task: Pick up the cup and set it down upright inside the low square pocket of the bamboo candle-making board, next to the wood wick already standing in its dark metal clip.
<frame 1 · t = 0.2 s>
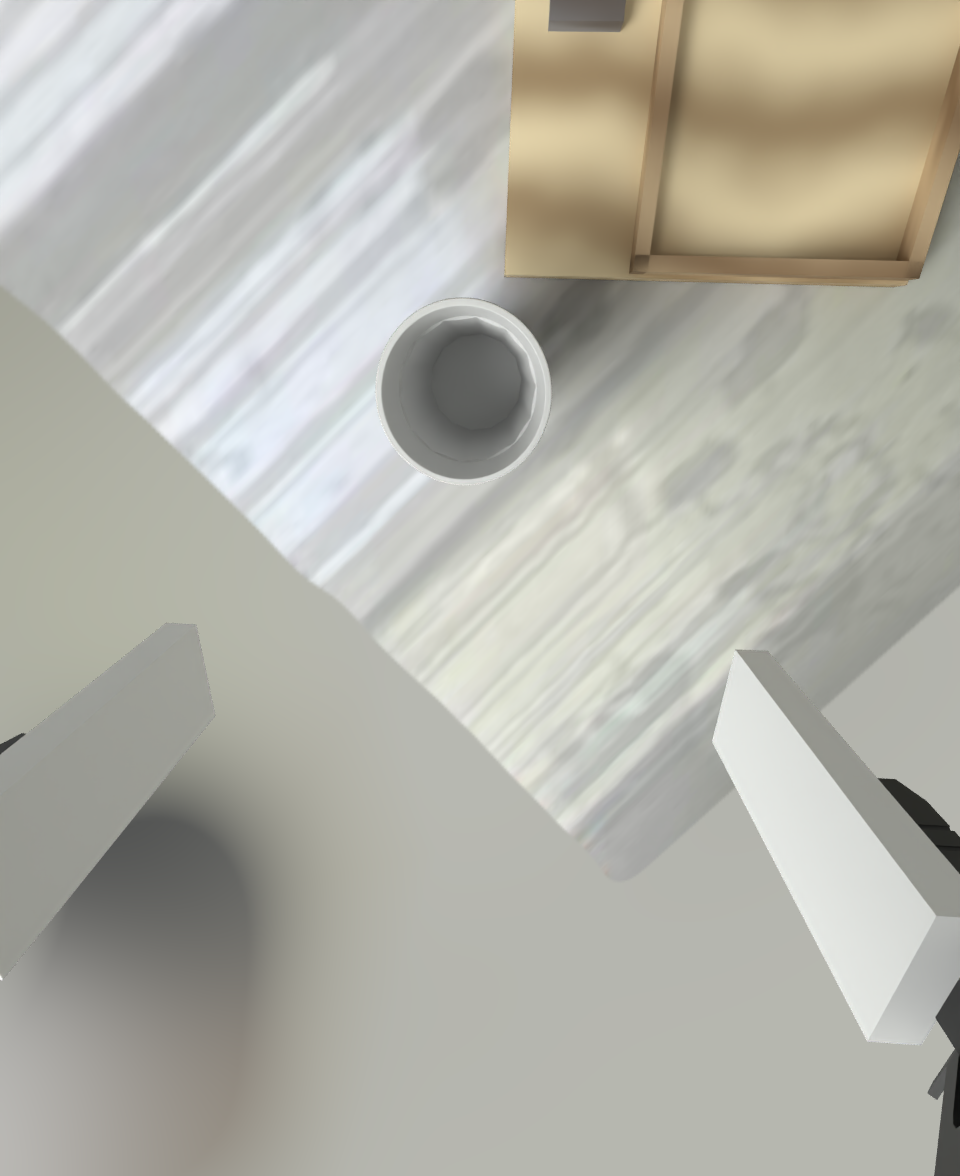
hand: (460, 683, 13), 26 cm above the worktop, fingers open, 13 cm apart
cup: (477, 381, 35), on the worktop
board: (725, 112, 29), on the worktop
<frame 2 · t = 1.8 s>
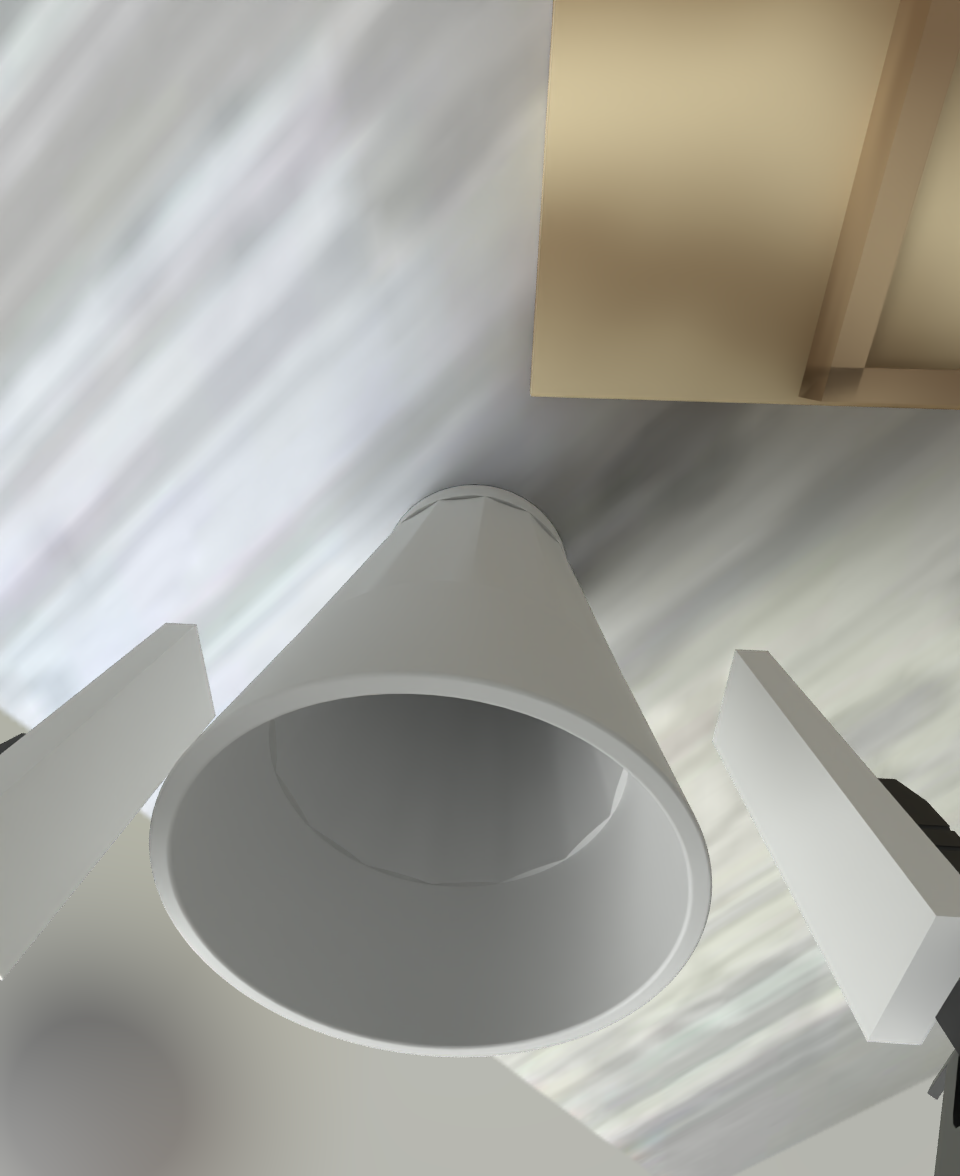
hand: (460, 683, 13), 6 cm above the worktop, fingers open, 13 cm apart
cup: (475, 572, 19), on the worktop
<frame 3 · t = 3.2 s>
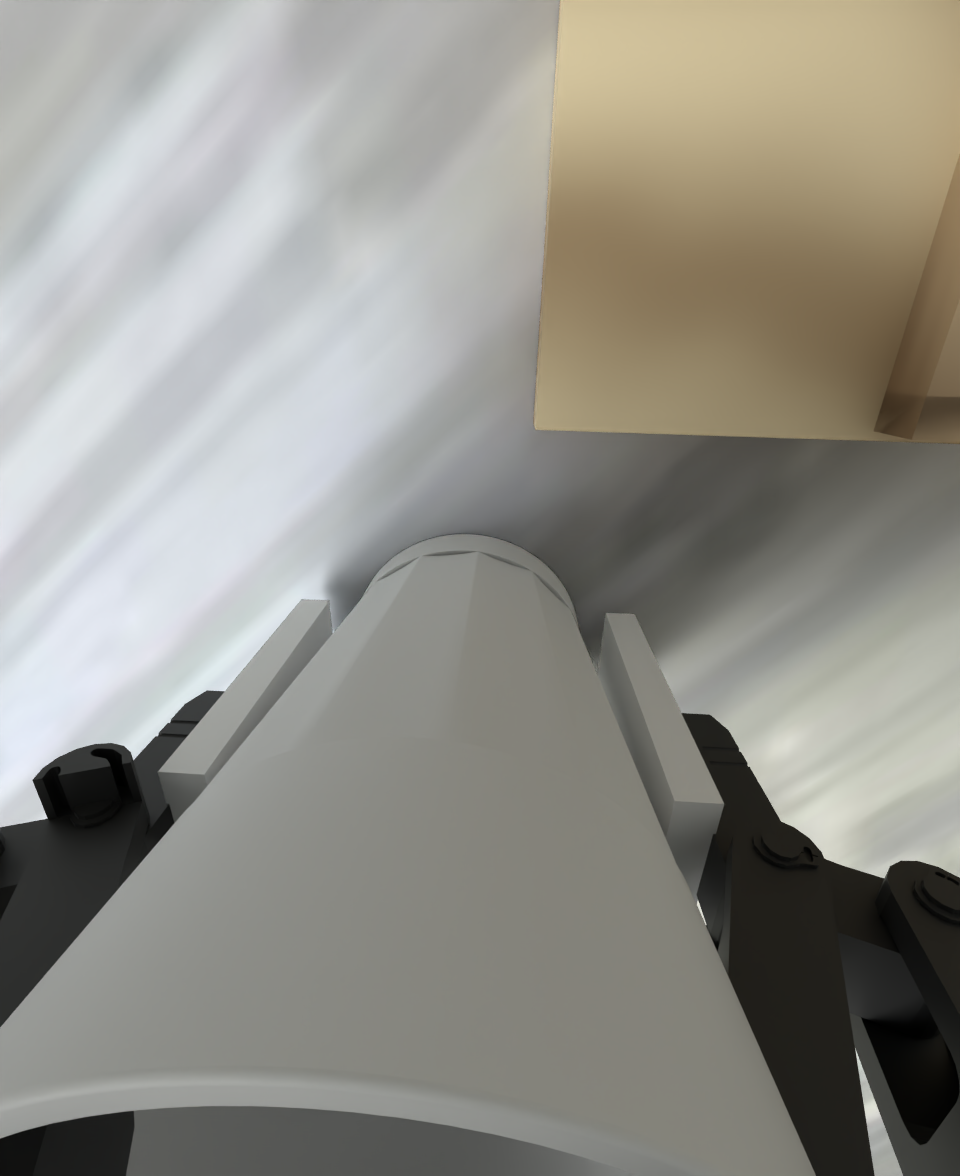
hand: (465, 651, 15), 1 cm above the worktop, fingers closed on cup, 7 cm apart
cup: (467, 635, 16), on the worktop, touching gripper
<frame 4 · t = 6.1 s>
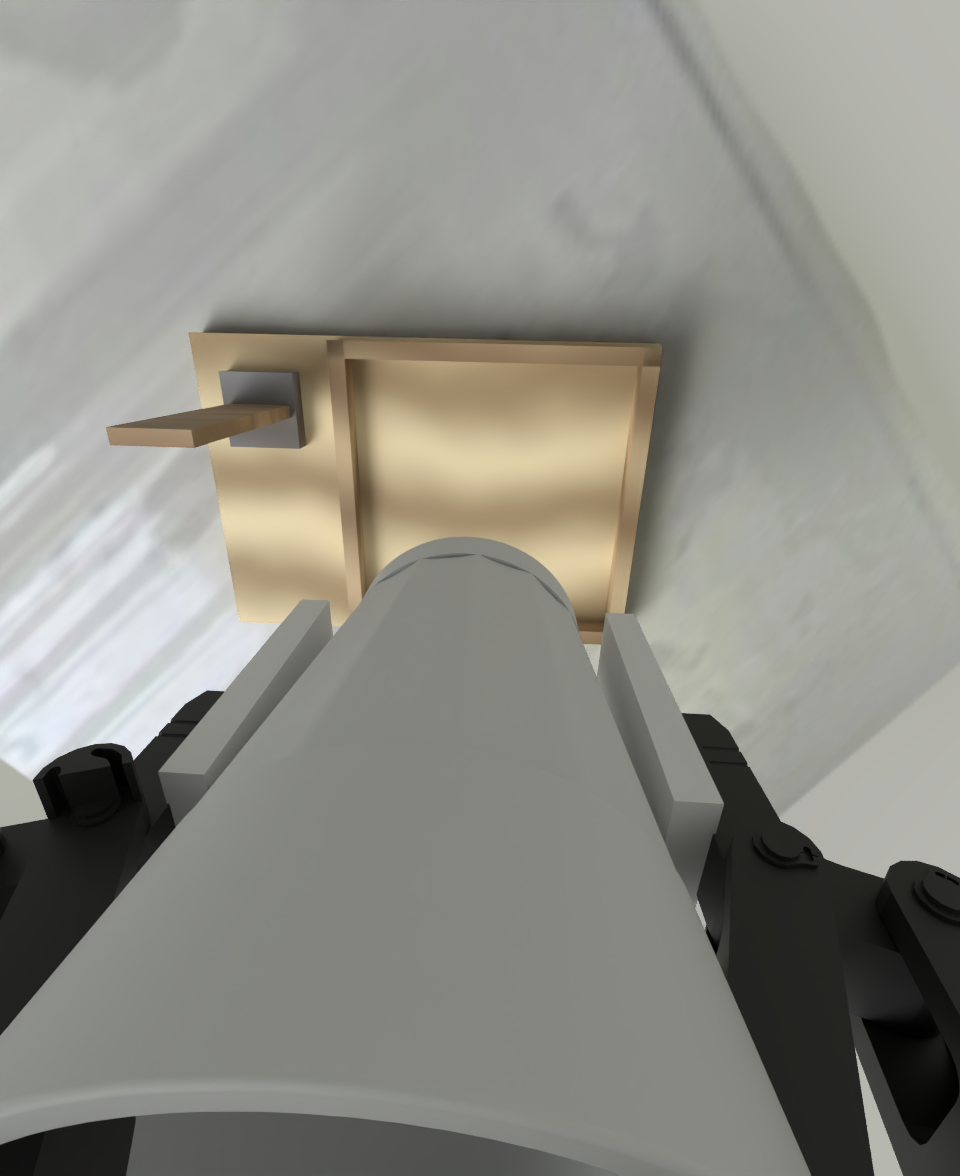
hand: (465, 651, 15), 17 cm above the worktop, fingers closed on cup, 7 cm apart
cup: (467, 638, 16), point 16 cm above the worktop, touching gripper
board: (427, 494, 30), on the worktop
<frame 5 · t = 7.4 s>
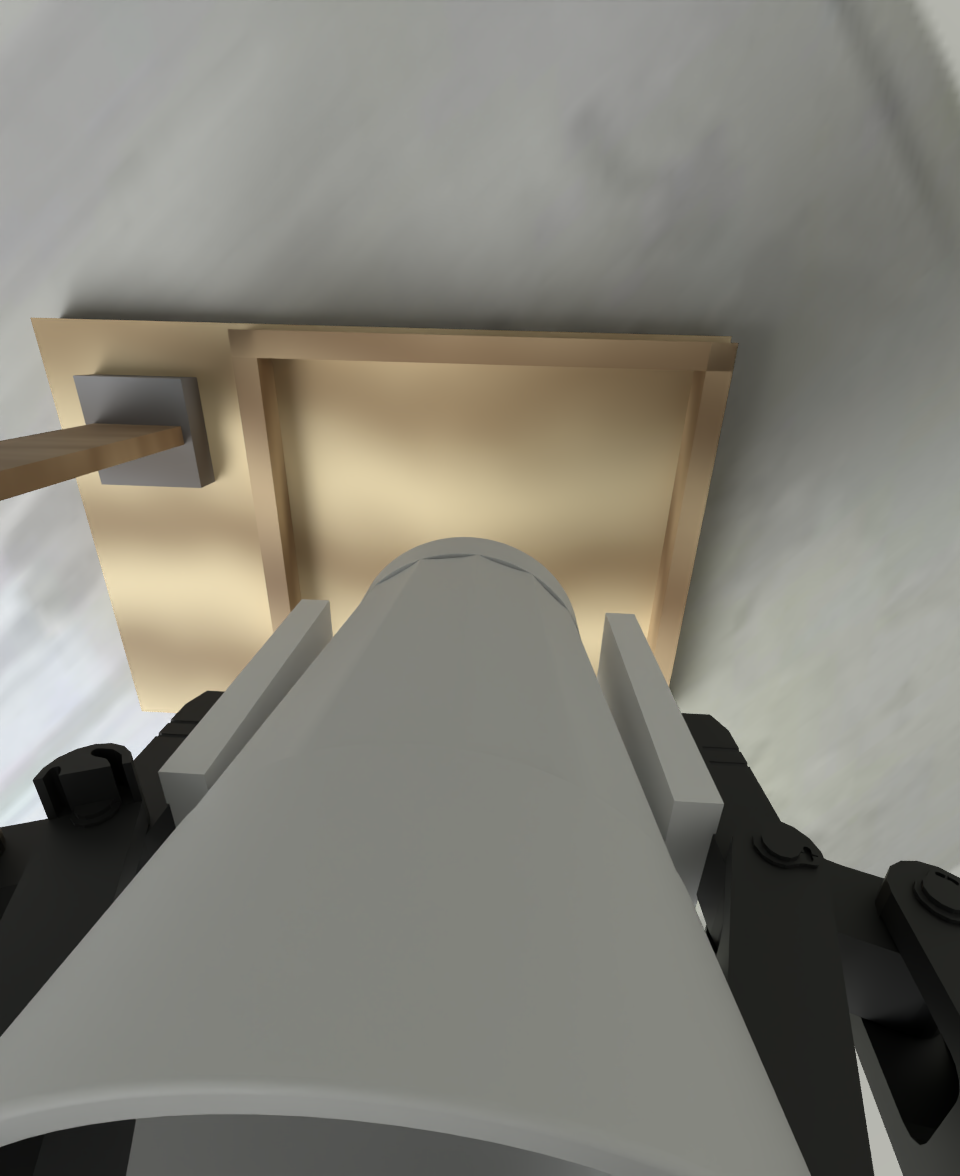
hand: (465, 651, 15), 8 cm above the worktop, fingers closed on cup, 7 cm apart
cup: (467, 638, 16), point 7 cm above the worktop, touching gripper
board: (391, 546, 22), on the worktop
when the fingers open (4 cm above the worktop, at t = 8.8 s): cup drops 2 cm, resting on board.
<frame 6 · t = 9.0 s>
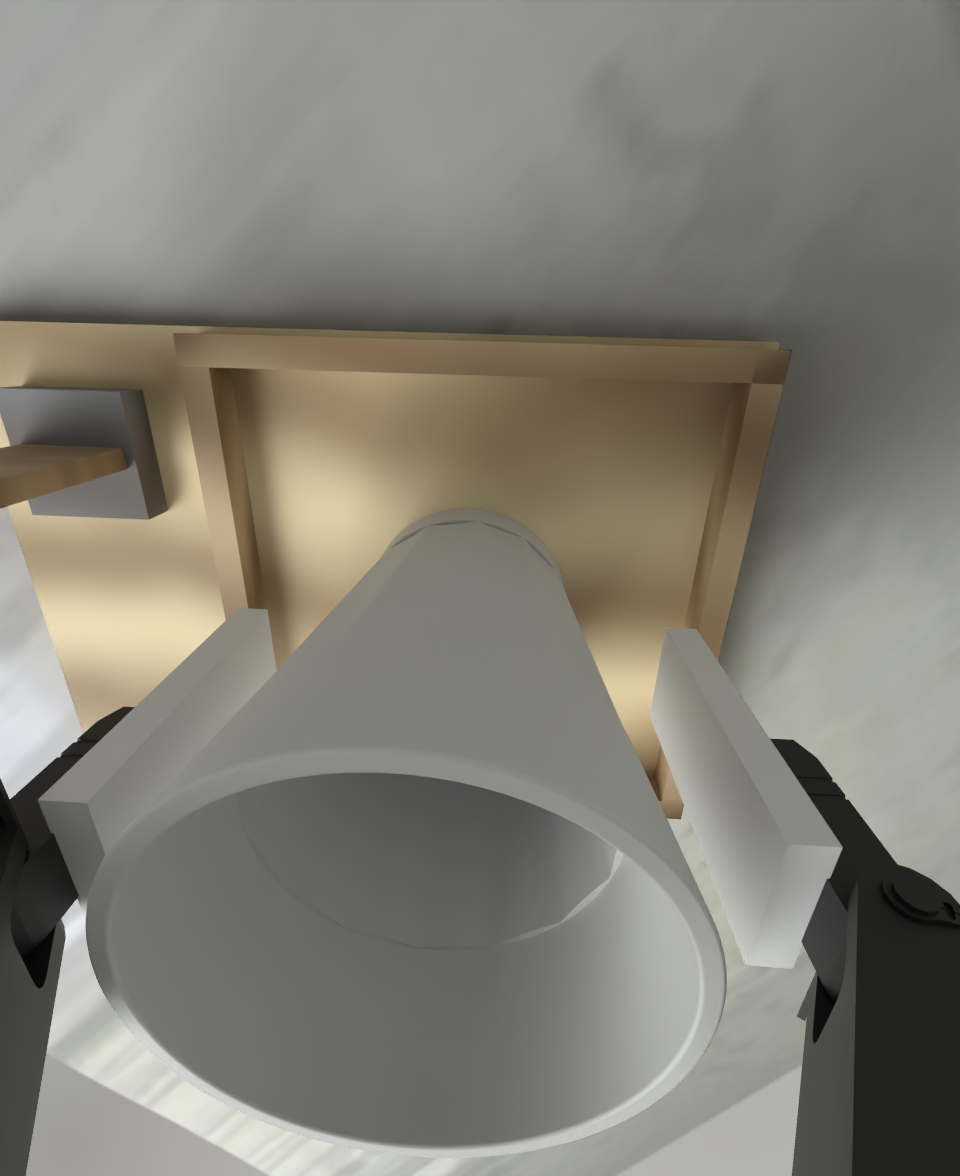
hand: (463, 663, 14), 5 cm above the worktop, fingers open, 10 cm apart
cup: (468, 599, 18), point 1 cm above the worktop, touching board
board: (375, 582, 19), on the worktop
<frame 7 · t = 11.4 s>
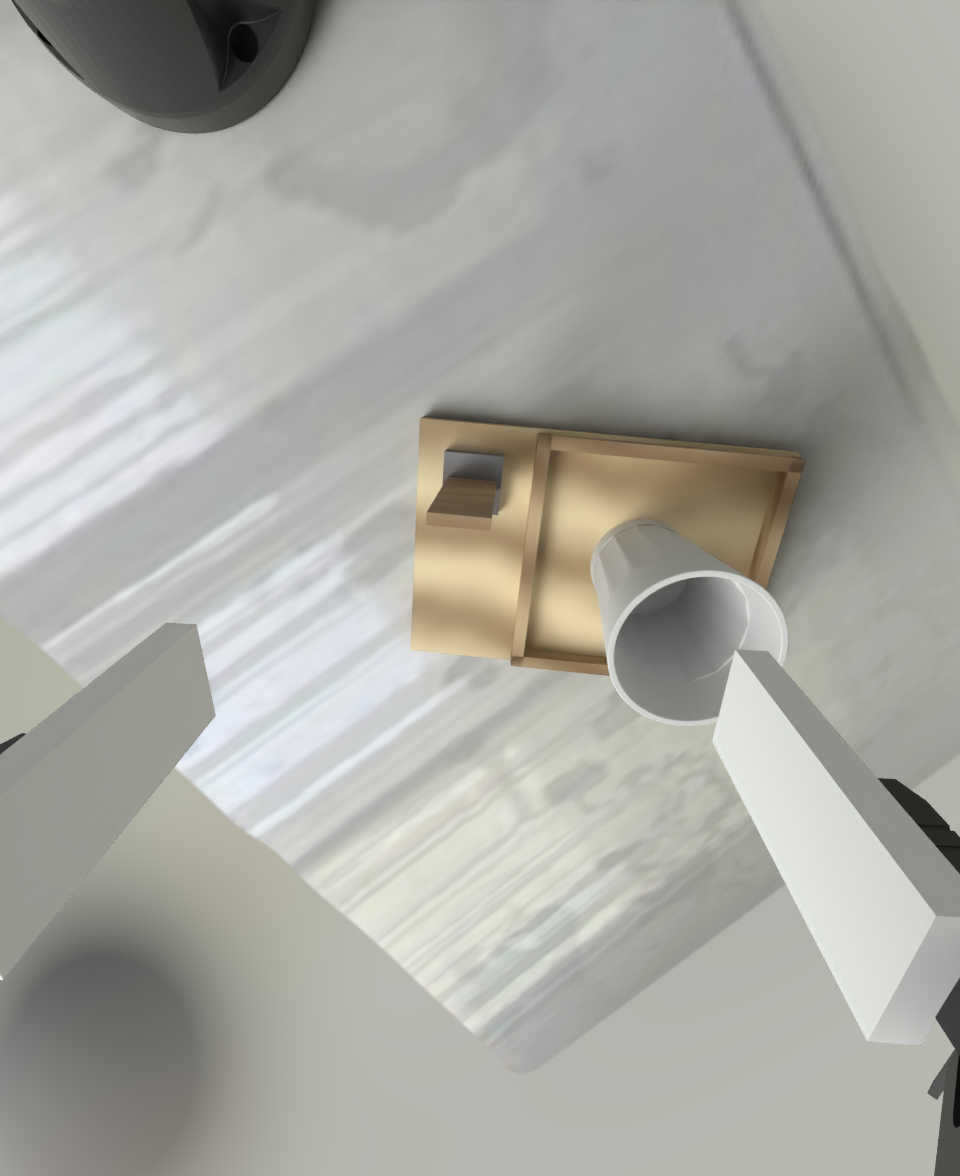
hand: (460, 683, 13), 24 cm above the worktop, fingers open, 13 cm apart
cup: (638, 564, 36), point 1 cm above the worktop, touching board
board: (585, 554, 37), on the worktop
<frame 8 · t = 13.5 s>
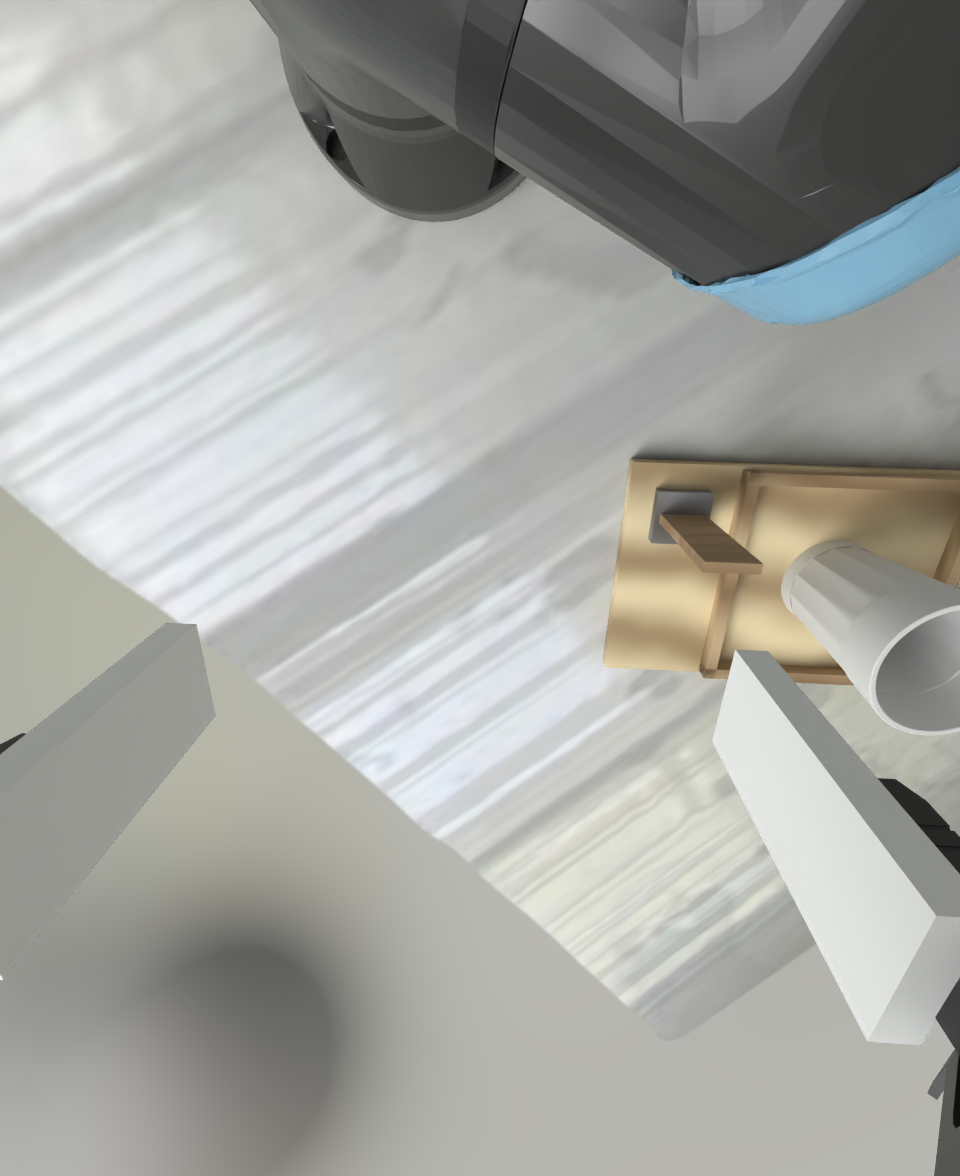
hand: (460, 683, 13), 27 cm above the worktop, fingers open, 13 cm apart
cup: (825, 580, 39), point 1 cm above the worktop, touching board
board: (772, 573, 40), on the worktop
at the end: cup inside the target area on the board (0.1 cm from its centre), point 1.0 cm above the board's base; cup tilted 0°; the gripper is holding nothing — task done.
